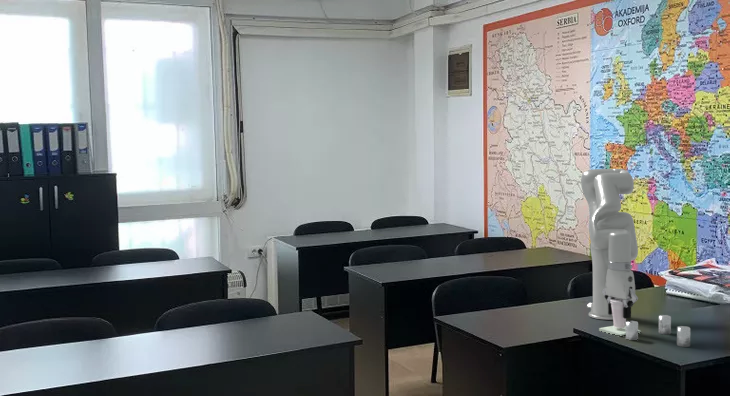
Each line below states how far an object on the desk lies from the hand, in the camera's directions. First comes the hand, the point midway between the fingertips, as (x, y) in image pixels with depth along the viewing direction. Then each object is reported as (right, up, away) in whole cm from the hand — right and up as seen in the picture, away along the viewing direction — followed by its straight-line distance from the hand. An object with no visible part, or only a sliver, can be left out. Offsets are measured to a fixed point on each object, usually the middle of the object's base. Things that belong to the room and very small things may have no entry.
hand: (619, 315), depth 255 cm
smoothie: (0, -4, 0) cm, 4 cm away
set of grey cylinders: (+11, -7, -12) cm, 18 cm away
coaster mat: (0, -6, 0) cm, 6 cm away
